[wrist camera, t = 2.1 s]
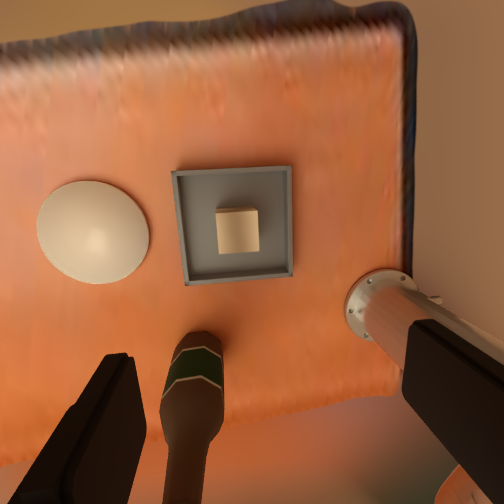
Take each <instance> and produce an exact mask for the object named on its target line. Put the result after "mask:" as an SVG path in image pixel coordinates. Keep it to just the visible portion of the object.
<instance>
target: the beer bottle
mask: <svg viewBox="0 0 504 504" xmlns="http://www.w3.org/2000/svg"><path fill="white" fill-rule="evenodd" d="M159 412H160V418H161V424H162V428H163V432H164V436H165V440H166V442H167V444H168V446H169V453H168V461H167V470H166V478H165V486H164V494H163V503H162V504H201V500H202V491H203V482H204V473H205V464H206V456H207V452H208V448H209V443H210V442H211V441H212V440H213V438H214V437H215V436H216V435H217V434H218V432H219V430H220V428H221V426H222V423H223V421H224V363H223V354H222V348H221V342H220V340H219V339H217V338H215V337H214V336H212V335H211V334H209V333H208V332H206V331H202V332H196V333H189V334H186V336H185V337H184V338H183V339H182V341H181V342H180V343H179V344H178V346H177V347H176V348H175V351H174V354H173V357H172V361H171V365H170V369H169V372H168V376H167V380H166V384H165V388H164V391H163V395H162V399H161V405H160V411H159Z"/></svg>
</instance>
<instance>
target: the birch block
mask: <svg viewBox="0 0 504 504" xmlns="http://www.w3.org/2000/svg"><path fill="white" fill-rule="evenodd" d="M215 214H216V225H217V237H218V249H219V254H230V253H242V252H255V251H259V231H258V211H257V210H256V209H255V208H254V207H253V206H241V207H225V208H216V213H215Z"/></svg>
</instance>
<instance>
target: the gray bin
mask: <svg viewBox="0 0 504 504" xmlns="http://www.w3.org/2000/svg"><path fill="white" fill-rule="evenodd" d="M171 176H172V184H173V192H174V201H175V209H176V217H177V225H178V233H179V242H180V250H181V258H182V266H183V274H184V283H185V286H189V285H201V284H212V283H224V282H235V281H246V280H258V279H269V278H281V277H292V276H293V246H292V166H291V165H287V166H266V167H246V168H226V169H206V170H185V171H171ZM241 206H253V207H254V208H255V209H256V210H257V211H258V231H259V251H255V252H242V253H230V254H219V249H218V237H217V225H216V214H215V213H216V208H225V207H241Z"/></svg>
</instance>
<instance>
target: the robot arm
mask: <svg viewBox="0 0 504 504" xmlns="http://www.w3.org/2000/svg"><path fill="white" fill-rule="evenodd" d="M442 303H443V300H442V298H441V297H440V296H432V297H427V296H426V295H424V294H422V293H421V292H419V289H418V287H417V285H416V283H415V282H414V281H413V279H412V278H410V277H409V276H408V275H406V274H405V273H403V272H401V271H398V270H395V269H380V270H376V271H373V272H371V273H368V274H366V275H365V276H363V277H362V278H361V279H359V280H358V281H357V282H356V283H355V284H354V286H353V287H352V288H351V290H350V291H349V293H348V295H347V298H346V301H345V306H344V314H345V319H346V322H347V324H348V326H349V327H350V329H351V330H352V331H353V332H354V333H355V334H356V335H357V336H359V337H360V338H362V339H364V340H368V341H372V342H376V343H377V344H378V345H379V346H380V347H381V348H382V349H383V350H384V351H385V352H386V353H387V354H388V355H389V356H390V357H391V358H392V359H393V361H394V362H395V363H396V364H397V365H398V366H399V367H400V368H401V369H402V370H403V371H404V372H403V382H402V393H403V396H404V398H405V400H406V401H407V402H408V403H409V405H410V406H411V407H412V408H413V409H414V411H415V412H416V413H417V414H418V415H419V417H420V418H421V419H422V420H423V421H424V423H425V424H426V425H427V426H428V427H429V429H430V430H431V431H432V432H433V433H434V435H435V436H436V437H437V438H438V439H439V440H440V442H441V443H442V444H443V445H444V446H445V447H446V449H447V450H448V451H449V452H450V454H451V455H452V456H453V457H454V458H455V460H456V461H457V462H458V463H459V465H458V466H457V467H456V468H455V469H454V471H453V472H452V473H451V475H450V476H449V477H448V478H447V479H446V481H445V482H444V483H443V485H442V486H441V488H440V489H439V491H438V493H437V496H436V499H435V504H504V343H503V342H502V341H500V340H498V339H497V338H495V337H493V336H491V335H490V334H488V333H486V332H484V331H482V330H481V329H479V328H477V327H475V326H474V325H472V324H470V323H469V322H467V321H465V320H464V319H462V318H460V317H458V316H457V315H455V314H453V313H451V312H450V311H448V310H446V309H445V308H443V307H441V306H440V305H441V304H442ZM146 430H147V426H146V419H145V414H144V409H143V403H142V398H141V393H140V387H139V382H138V377H137V372H136V366H135V361H134V358H133V357H128V355H127V353H117V354H108V355H106V356H105V357H104V358H103V360H102V361H101V363H100V365H99V366H98V368H97V369H96V371H95V373H94V374H93V376H92V377H91V379H90V381H89V382H88V384H87V385H86V387H85V389H84V390H83V392H82V393H81V395H80V397H79V398H78V400H77V401H76V403H75V404H74V405H72V406H70V408H69V409H68V410H67V411H66V413H65V415H64V416H63V418H62V419H61V421H60V422H59V424H58V425H57V427H56V429H55V430H54V432H53V433H52V435H51V436H50V438H49V440H48V441H47V443H46V444H45V446H44V447H43V449H42V450H41V452H40V454H39V455H38V457H37V458H36V460H35V462H34V463H33V465H32V466H31V468H30V469H29V471H28V472H27V474H26V475H25V477H24V478H23V480H22V482H21V483H20V485H19V486H18V488H17V489H16V491H15V493H14V494H13V496H12V497H11V499H10V500H9V502H8V503H7V504H127V503H128V499H129V496H130V492H131V488H132V485H133V481H134V477H135V474H136V470H137V466H138V463H139V459H140V456H141V452H142V448H143V445H144V441H145V437H146Z"/></svg>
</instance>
